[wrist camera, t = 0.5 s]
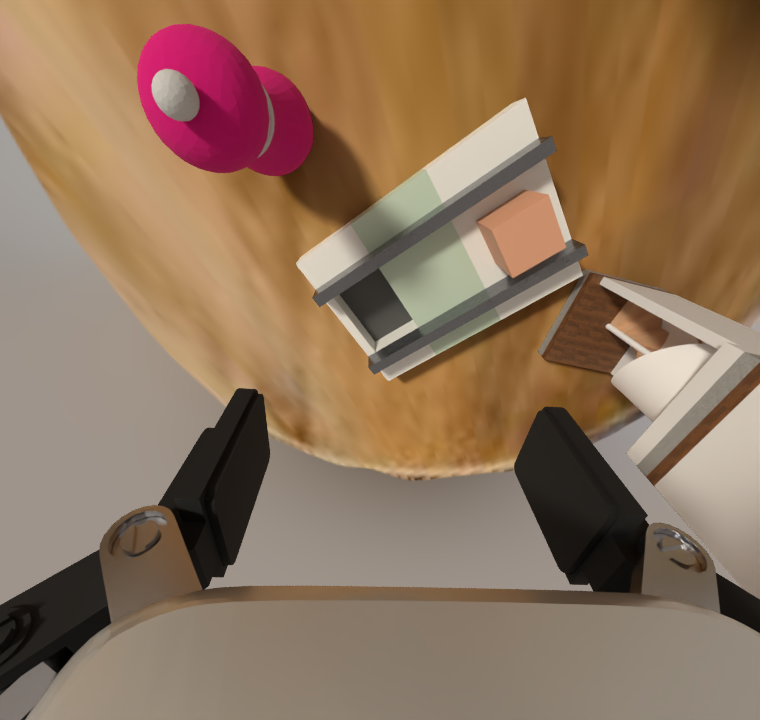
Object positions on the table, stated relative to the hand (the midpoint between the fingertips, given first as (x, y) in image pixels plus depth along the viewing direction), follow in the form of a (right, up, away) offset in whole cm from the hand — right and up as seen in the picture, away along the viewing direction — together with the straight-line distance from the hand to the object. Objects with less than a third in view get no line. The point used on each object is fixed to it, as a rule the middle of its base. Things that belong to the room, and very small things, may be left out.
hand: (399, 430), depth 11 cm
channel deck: (+6, +14, +26) cm, 30 cm away
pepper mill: (-10, +24, +19) cm, 32 cm away
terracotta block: (+12, +16, +21) cm, 29 cm away
